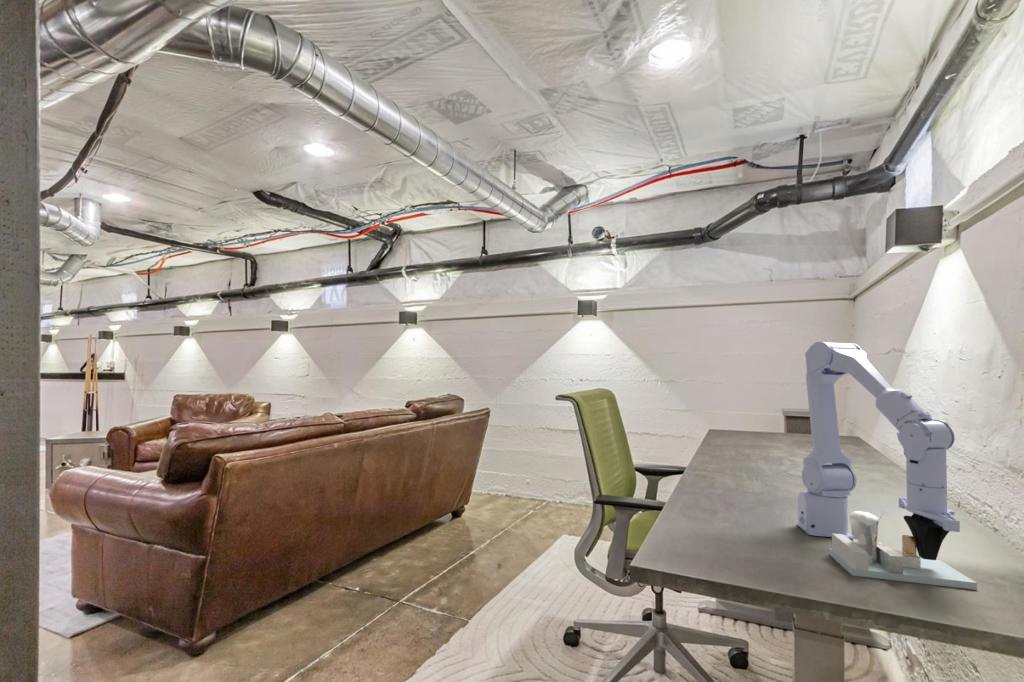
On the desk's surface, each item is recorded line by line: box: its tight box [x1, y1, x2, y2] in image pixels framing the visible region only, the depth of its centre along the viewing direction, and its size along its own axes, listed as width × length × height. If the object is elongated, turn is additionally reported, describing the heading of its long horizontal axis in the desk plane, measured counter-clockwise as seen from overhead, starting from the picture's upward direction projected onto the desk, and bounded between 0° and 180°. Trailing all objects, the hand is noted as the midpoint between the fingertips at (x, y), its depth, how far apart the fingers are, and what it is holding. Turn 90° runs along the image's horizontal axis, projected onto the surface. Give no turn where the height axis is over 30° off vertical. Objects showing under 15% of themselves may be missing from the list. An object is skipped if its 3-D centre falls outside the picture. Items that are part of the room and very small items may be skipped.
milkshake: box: [849, 510, 885, 564], centre depth 91 cm, size 4×5×10 cm
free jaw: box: [876, 534, 921, 574], centre depth 89 cm, size 6×10×5 cm, turn 167°
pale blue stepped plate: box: [828, 533, 978, 591], centre depth 89 cm, size 19×10×4 cm, turn 77°
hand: (927, 558), depth 88 cm, fingers closed, pressing on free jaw
